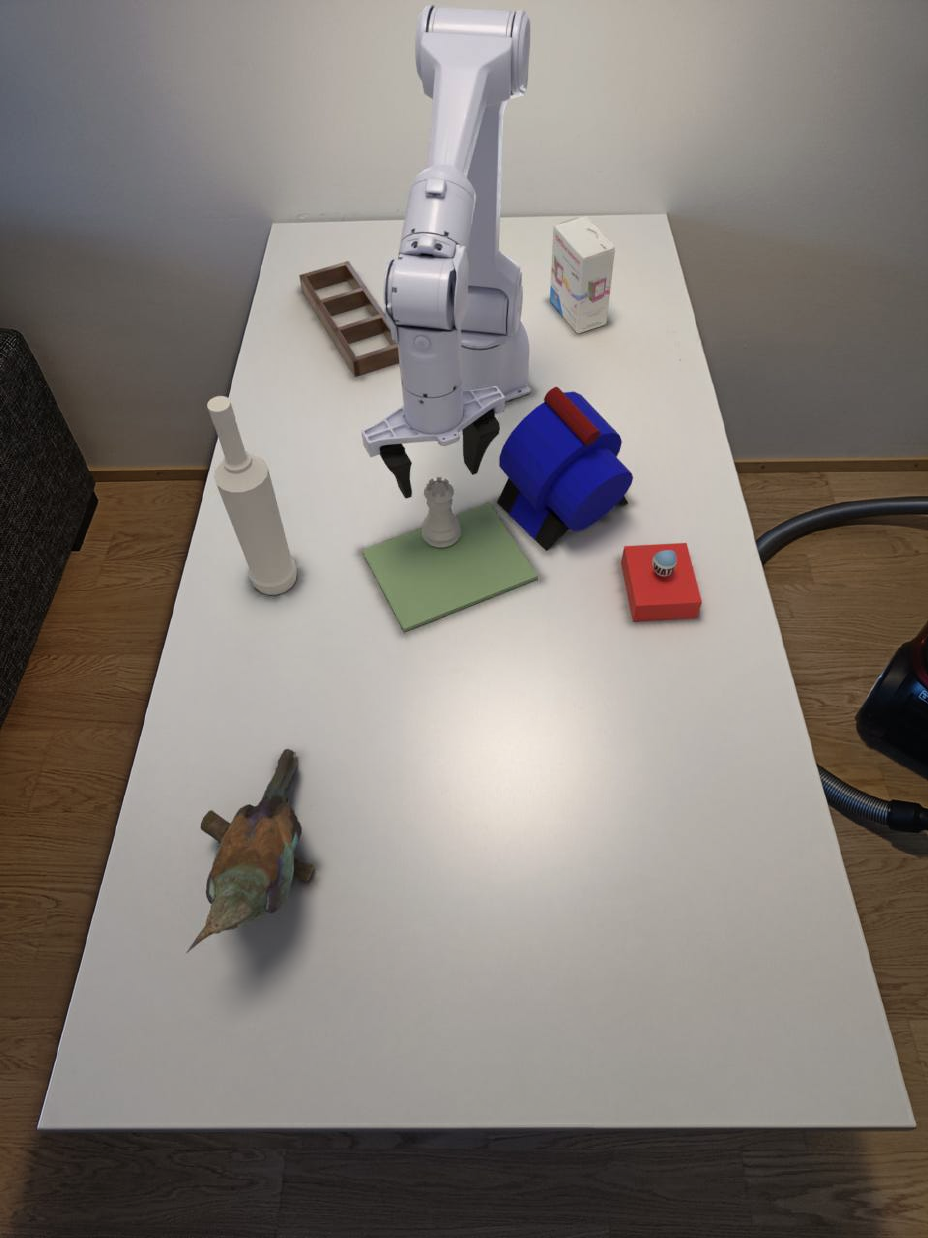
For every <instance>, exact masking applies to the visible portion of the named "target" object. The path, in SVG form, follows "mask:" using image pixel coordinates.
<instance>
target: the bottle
mask: <svg viewBox="0 0 928 1238" xmlns="http://www.w3.org/2000/svg"><path fill="white" fill-rule="evenodd" d="M206 407H207V410H208V413H209V415H210V418H211V421H212V424H213V427H214V429H215V431H216V434H217V438H218V440H219V443H220V446H221V449H222V452H223V455H224V457H223V459H222V461H221V462H220V463H219V464H218V465H217V467H215V470H214V474H213V479H214V482H215V485H216V487H217V490H218V492H219V494H220V498H221V501H222V503H223V505H224V507H225V510H226V513H227V515H228V518H229V520H230V523H231V526H232V528H233V530H234V533H235V537H236V539H237V541H238V543H239V546H240V549H241V551H242V553H243V556H244V558H245V561H246V564H247V566H248V572H247V573H248V576H249V579H250V581H251V583H252V585H253V586H254V588H255V589H256V590H258V591H259V592H260V593H262V594H265V595H268V596H277V595H280V594H283V593H286V592H287V591H288V590H290V589H291V588H292V587H293V586H294V584H295V582H296V580H297V574H298V567H297V565H296V562H295V559H294V557H293V556H292V555H291V551H290V548H289V544H288V540H287V536H286V532H285V529H284V525H283V520H282V517H281V512H280V509H279V504H278V501H277V497H276V494H275V489H274V486H273V481H272V478H271V474H270V469H269V466H268V463H267V461H266V460H265V459H263V458H262V457H261V456H259V455H257V454H253V453H249V452H248V451H246V449H245V445H244V443H243V440H242V437H241V433H240V430H239V427H238V423H237V420H236V415H235V412H234V408H233V405H232V402H231V399H230V398H229V397H228V396H225V395H217V396H214V397H212V398H210V399H209V401H208V402H207V405H206Z"/></svg>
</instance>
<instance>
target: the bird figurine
mask: <svg viewBox="0 0 928 1238" xmlns="http://www.w3.org/2000/svg"><path fill="white" fill-rule="evenodd" d="M296 756H297V751H293V750H292V749H289V748H284V750H283V751H282V753H281V755H280V757H279V759H278V760H277V766H276V768H275V771H274V773H273V775H272V777H271V779H270V781H269V782H268V784H267V786H266V788H265V790H264V793H263V795H262V797H261V800H260V801H259V802H258V803H257V805H255V806H254V805H253V804H252V803H251V804H250V803H248V804H245V805H243V806H242V807H240V808H239V809H238V810H237V811H236V813H235V814H234V816H233V819H232V821H231V822H229V821H228V820H226V819H225V818H224V817H222V816H220V815H219V814H218V813H216V812H215V811H214V810H212V809H209V810H208V811H207V812H206V813H205V815H204V816H203V817H202V819H201V822H200V830H201V831H202V832H203V833H204V834H207V835H208V836H209V837H211V838H212V839H214V840H215V841H216V842H217V843H219V846H218V848H217V851H216V854H215V856H214V859H213V861H212V866H211V869H210V871H209V873H208V876H207V879H206V883H205V884H206V885H205V897H206V898H207V899H206V900H207V901H208V903H209V904H210V909H209V912H208V914H207V917H206V920H205V924H204V925H205V926H204V927H203V928H202V929H201V931H200V932H199V933H198V935H197V936H196V938H195V939H194V940H193V942H192V943H191V945H190V946H189V947H188V950H187V951H186V954H188V953H189V952H190V951H191V950H193V949H194V948H195V947H196V946H197V945H198V944H200V943H201V942H202V941H203V940H205V939H207V938H208V937H210V936H212V935H214V934H217V935H218V934H221V933H222V932H224V931H230V930H235V929H238V927H239V926H240V925H242V924H243V923H247V922H250V921H253V920H256V919H257V918H259V917H260V916H262V915H263V914H264V913H267V914H274V913H276V912H277V911H278V910H280V909H281V908H282V906H283V905H284V904H285V902H286V901H287V900H288V898H289V896H290V894H291V887H292V886H291V885H292V881H293V880H294V879H299V880H302V881H309V880H310V878H311V875H312V873H313V871H314V868H315V865H314V864H313V863H309V862H306V861H304V860H302V859H300V858H298V857H295V852H296V848H297V845H298V843H299V841H300V839H301V836H302V831H303V828H302V825H301V823H300V821H299V820H298V817H297V815H296V814H295V810H294V809H293V807H292V803H291V801H289V797H288V796H289V791H290V788H291V785H292V782H293V779H294V774H295V771H296V770H297V767H298V764H297V763H298V761H297V757H296Z"/></svg>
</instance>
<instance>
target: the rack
mask: <svg viewBox="0 0 928 1238" xmlns="http://www.w3.org/2000/svg"><path fill="white" fill-rule="evenodd" d="M298 277H299V282H300V287H301V291H302V293H303V295H304V296H305V298H306V300H307V301H308V302H309V304H310V306H311V307H312V309H313V310H314V312H315V314H316V315H317V317H318V319H319V320H320V322H321V324H322V326H324V328H325V331H326V332H327V333H328V335H329V336H330V338H331V340H332V341H333V343H334V345H335V346H336V348H337V350H338V351H339V353H340V354H341V356H342V358H343V359H344V361H345V363H346V364H347V366H348V368H349V369H350V371H351V373H352V374H353V376H354V377H355V378H356V377H359V376H361V375H365V374H368V373H371V372H374V371H377V370H381V369H384V368H386V367H390V366H393V365H396V364H400V363H399V353H398V343H396V342H395V341H393V340H392V335H391V328H390V326H389V324H388V323H387V321H386V317H385V312H384V309H382V307H381V305H380V304H379V303H378V301H377V300H376V299H375V297H374V296H373V294H372V293H371V291H370V290H369V288H368V287H367V285H366V284H365V283H364V281H363V279H362V278H361V276H360V275H359V274H358V272H357V271H356V269H355V268H354V266H353V264H351V262H350V260H347V261H343V262H339V263H336V264H332V265H329V266H325V267H321V268H319V269H316V270H312V271H308V272H305V273H302V274H299V276H298ZM343 282H348V283H349V285H350V286H351V287H352V289H351V290H348V291H345V292H342V293H339V294H335V295H332V296H329V297H325V298H320V297H319V295H318V294H317V292H316V290H320V289H323V288H326V287H330V286H333V285H337V284H341V283H343ZM361 307H365V308H366V309H367V311H368V313H369V314H370V315H371V316H370V317H367V318H363V319H360V320H357V321H353V322H350V323H348V324H345V325H341V326H338V325H337V323H336V322H335V320H334V318H333V317H332V316H336V315H339V314H342V313H346V312H349V311H353V310H357V309H359V308H361ZM380 334H383V335H384V336H385V338H386V340H387V341H388V343H389V344H390V345H389V346H385V347H382V348H379V349H375V350H373V351H370V352H367V353H364V354H360V355H357V356H356V354H355V352H354V350H353V349H352V348H351V346H350V345H349V344H352V343H355V342H358V341H361V340H364V339H368V338H372V337H375V336H378V335H380Z"/></svg>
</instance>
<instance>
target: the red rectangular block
mask: <svg viewBox="0 0 928 1238" xmlns="http://www.w3.org/2000/svg"><path fill="white" fill-rule="evenodd" d="M620 564H621V570H622V574H623V579H624V584H625V585H624V586H625V590H626V594H627V599H628V605H629V610H630V614H631V619H632V622H646V621H664V620H666V621H667V620H682V619H697V618H698V616H699V612H700V609H701V606H702V603H703V601H702V597H701V594H700V593H701V592H700V589H699V585H698V581H697V578H696V574H695V571H694V569H695V568H694V566H693V562H692V558H691V554H690V551H689V546H688V543H687V542H677V543H675V542H674V543H658V544H657V543H656V544H640V545H639V544H638V545H624V546H623V550H622V555H621V561H620Z"/></svg>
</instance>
